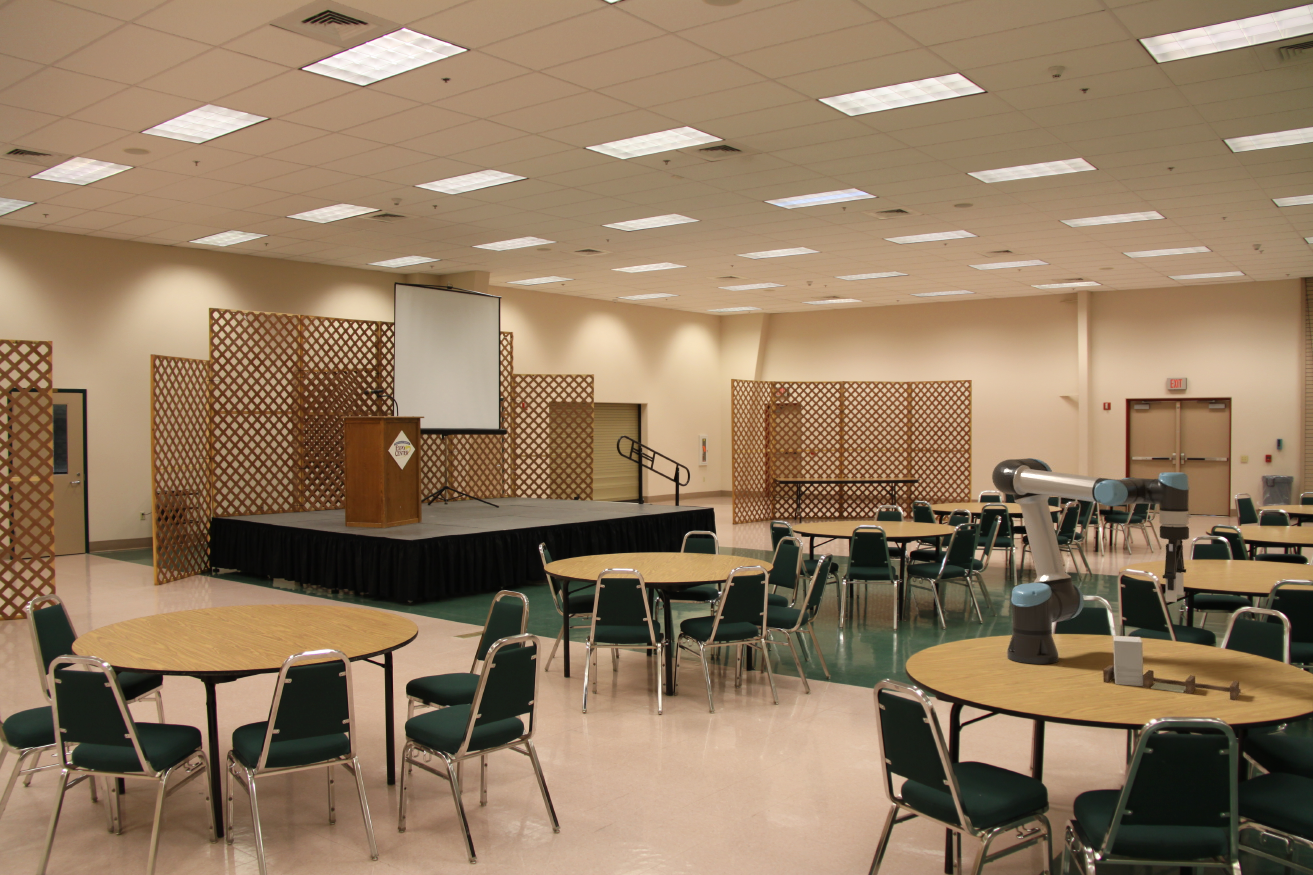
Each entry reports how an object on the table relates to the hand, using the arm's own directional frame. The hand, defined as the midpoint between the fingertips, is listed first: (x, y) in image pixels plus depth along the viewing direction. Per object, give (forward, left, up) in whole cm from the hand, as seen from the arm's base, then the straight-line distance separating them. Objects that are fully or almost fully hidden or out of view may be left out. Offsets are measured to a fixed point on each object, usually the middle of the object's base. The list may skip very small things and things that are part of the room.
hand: (1174, 598), depth 272 cm
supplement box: (-10, -15, -23) cm, 29 cm away
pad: (+1, -15, -23) cm, 27 cm away
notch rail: (+1, -14, -23) cm, 27 cm away
